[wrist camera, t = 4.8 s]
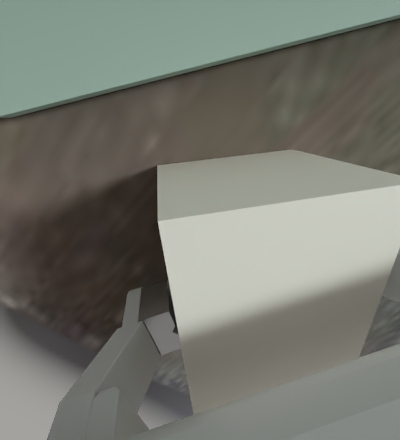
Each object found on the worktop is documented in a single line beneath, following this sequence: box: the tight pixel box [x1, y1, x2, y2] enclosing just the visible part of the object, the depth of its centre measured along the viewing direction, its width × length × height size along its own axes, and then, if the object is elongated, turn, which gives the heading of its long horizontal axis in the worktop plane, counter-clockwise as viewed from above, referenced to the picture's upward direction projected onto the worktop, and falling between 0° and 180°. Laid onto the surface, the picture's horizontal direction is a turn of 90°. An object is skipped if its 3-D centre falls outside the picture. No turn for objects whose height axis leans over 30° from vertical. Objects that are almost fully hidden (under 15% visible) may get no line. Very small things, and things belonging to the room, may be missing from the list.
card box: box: [157, 150, 400, 414], centre depth 8 cm, size 6×8×5 cm
